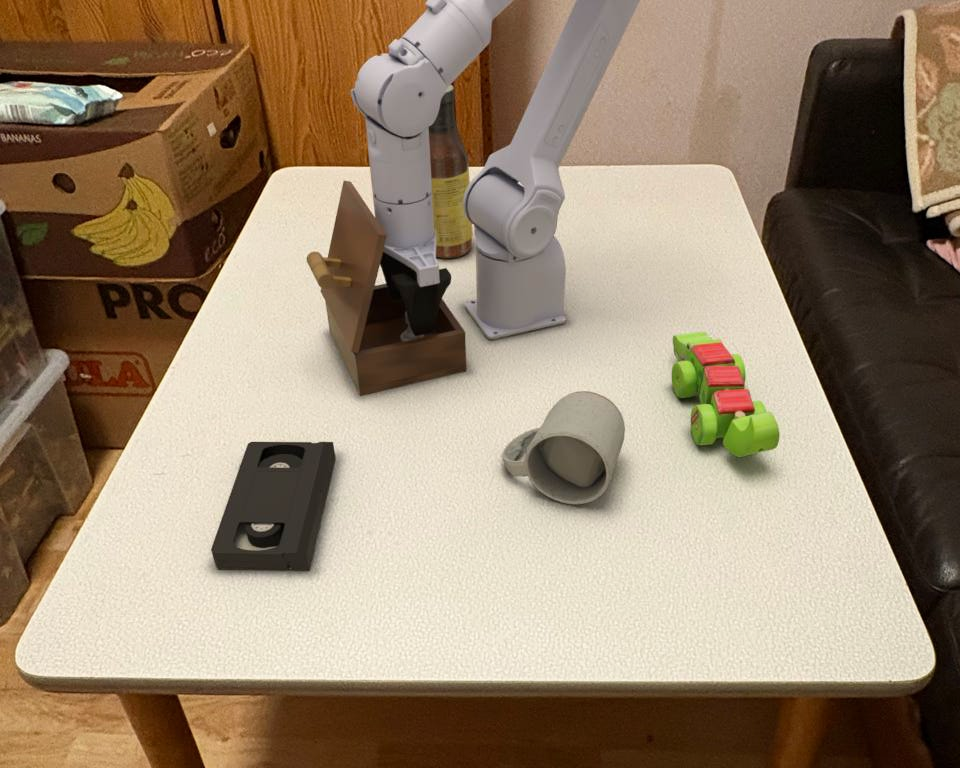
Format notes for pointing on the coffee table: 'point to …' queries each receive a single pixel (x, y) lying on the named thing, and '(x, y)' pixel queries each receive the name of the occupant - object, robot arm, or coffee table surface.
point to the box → (400, 347)
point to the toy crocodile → (720, 396)
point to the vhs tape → (275, 507)
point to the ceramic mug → (571, 448)
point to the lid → (350, 265)
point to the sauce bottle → (449, 182)
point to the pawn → (408, 332)
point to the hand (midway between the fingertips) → (411, 314)
